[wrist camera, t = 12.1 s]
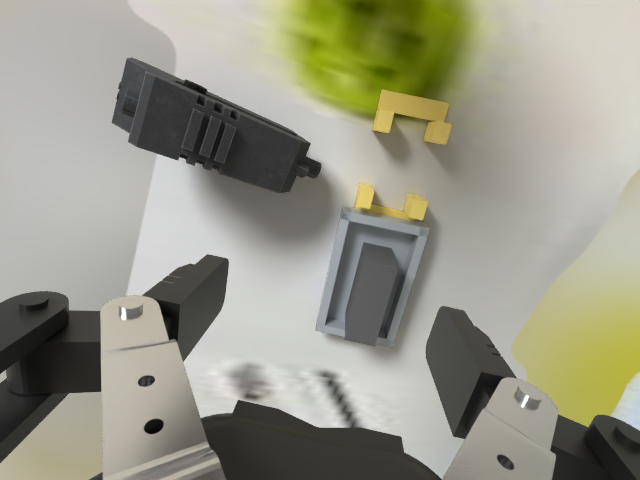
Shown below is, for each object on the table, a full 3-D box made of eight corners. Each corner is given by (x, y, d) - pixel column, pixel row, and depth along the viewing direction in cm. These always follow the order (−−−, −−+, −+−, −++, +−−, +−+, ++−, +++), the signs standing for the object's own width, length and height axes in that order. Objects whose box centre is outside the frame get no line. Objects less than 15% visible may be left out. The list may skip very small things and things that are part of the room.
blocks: (381, 90, 35) (385, 84, 31) (448, 103, 35) (460, 100, 31) (351, 216, 40) (351, 225, 36) (410, 229, 40) (416, 239, 36)
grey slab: (363, 242, 40) (365, 259, 34) (391, 248, 40) (398, 267, 34) (344, 316, 43) (343, 344, 38) (370, 322, 43) (373, 351, 37)
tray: (342, 205, 39) (342, 210, 37) (424, 222, 39) (430, 229, 36) (317, 318, 44) (315, 330, 42) (389, 333, 44) (392, 347, 41)
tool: (135, 50, 33) (119, 53, 22) (296, 125, 44) (346, 156, 32) (121, 108, 35) (99, 141, 23) (279, 168, 45) (319, 212, 33)
